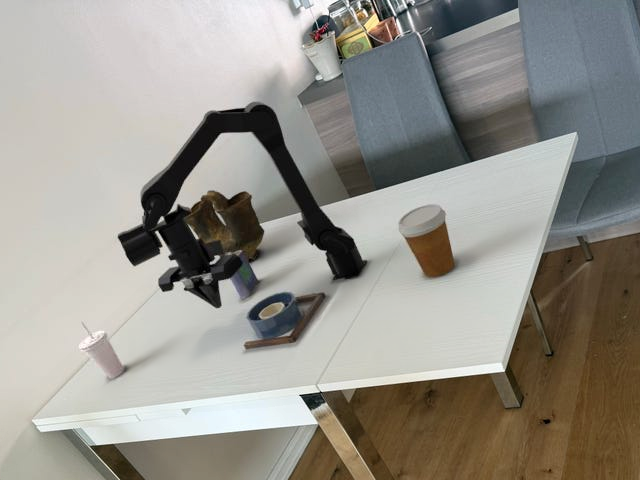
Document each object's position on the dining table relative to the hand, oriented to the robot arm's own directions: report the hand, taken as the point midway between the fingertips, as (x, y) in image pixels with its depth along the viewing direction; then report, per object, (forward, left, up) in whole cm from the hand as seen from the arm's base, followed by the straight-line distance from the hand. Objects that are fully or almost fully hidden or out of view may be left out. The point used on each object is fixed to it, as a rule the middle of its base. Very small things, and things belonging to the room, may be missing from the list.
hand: (219, 307), depth 145 cm
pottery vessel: (+19, -37, -7) cm, 42 cm away
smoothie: (+28, +10, -7) cm, 30 cm away
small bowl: (-12, 0, -6) cm, 14 cm away
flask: (+6, -18, -7) cm, 20 cm away
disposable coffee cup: (-45, -12, -7) cm, 47 cm away
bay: (-14, 0, -7) cm, 16 cm away
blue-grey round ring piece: (-12, 0, -7) cm, 14 cm away
